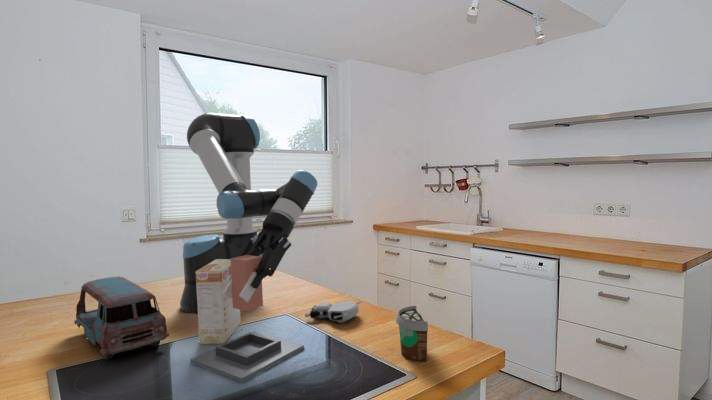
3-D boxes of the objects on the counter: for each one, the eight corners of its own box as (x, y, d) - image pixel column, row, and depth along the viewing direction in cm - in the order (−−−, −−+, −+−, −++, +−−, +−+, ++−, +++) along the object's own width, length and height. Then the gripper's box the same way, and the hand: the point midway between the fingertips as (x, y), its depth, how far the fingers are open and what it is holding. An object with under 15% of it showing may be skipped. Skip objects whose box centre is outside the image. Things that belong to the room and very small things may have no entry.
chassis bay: (190, 362, 100) (189, 350, 100) (254, 334, 117) (253, 324, 117) (242, 382, 90) (241, 369, 90) (304, 348, 107) (303, 337, 107)
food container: (392, 344, 108) (391, 306, 108) (416, 343, 109) (415, 305, 108) (401, 366, 96) (401, 323, 95) (428, 365, 97) (427, 322, 96)
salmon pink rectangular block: (232, 307, 102) (230, 258, 101) (248, 302, 106) (246, 254, 105) (247, 311, 99) (244, 260, 98) (263, 305, 103) (260, 256, 102)
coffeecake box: (218, 323, 126) (215, 258, 125) (241, 323, 126) (239, 258, 124) (197, 344, 111) (194, 271, 110) (224, 344, 111) (221, 270, 110)
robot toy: (302, 325, 126) (349, 327, 120) (301, 310, 126) (347, 312, 120) (321, 312, 137) (364, 313, 131) (320, 298, 137) (363, 299, 131)
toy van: (104, 370, 98) (99, 306, 97) (73, 334, 120) (70, 282, 119) (173, 349, 109) (169, 291, 108) (133, 319, 131) (130, 272, 130)
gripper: (315, 230, 109) (271, 311, 96) (265, 226, 119) (219, 299, 106) (300, 211, 104) (252, 294, 91) (250, 209, 114) (200, 284, 102)
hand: (235, 297), depth 99 cm, fingers closed on salmon pink rectangular block, 5 cm apart
